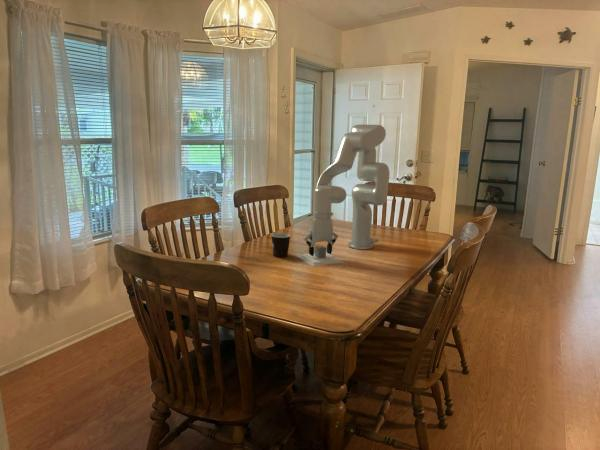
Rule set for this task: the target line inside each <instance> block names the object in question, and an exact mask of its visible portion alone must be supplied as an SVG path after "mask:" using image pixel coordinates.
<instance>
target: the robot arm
mask: <svg viewBox="0 0 600 450" xmlns="http://www.w3.org/2000/svg"><path fill="white" fill-rule="evenodd" d="M386 132H387V131H386V129H385V127H384V125H381V124H364V123H363V124H355V125H353V126H352V127H351V128H350V132H347V133H345V134H344V135H343V136H342V137H341V140H340V144H339V146H338V149H337V152H336V155H335V158H334V161H333V162H332V163H331V164H330V165H329V166H328V167H326V169H324V170H323V172H322V173H321V174H320V176H319V178H318V181H317V183H316V186H315V189H314V190H313V212H312V213H313V215H312V218H311V219H310V222H309V229H308V233H307V234H306V235H305V236H303V241H304V242H305V244H306V245H307V246H308V254H310V255H311V256H314V253H315V244H316V243H319V242H327V244H326V252H327V253H329V254H331V255H332V251H333V246H334V244H335V243H336V242H337V240H338V238H339V235H338V234H337V233H335V232H334V230H333V229H334V227H333V226H334V225H333V221H332V216H334V213H333V212H331V209H332V204H341V203H344V201H345V200H346V198H347V192H346V190H345V188H344V187H342V186H337V185H331V184H330V183H331V181H332V180H333V179H334V178H336V177H337V176H338V175H341V174H344V173H346V172H348V171H350V170H352V168H353V166H354V162H355V158H356V156H357V153H358V156H357V157H358V159H357V168H356V177H357V179H359V180H360V181H364V182H368V183H357V184H355V185H354V186H353V187H352V189H351V199H352V223H351V241H350V242H348V243H347V246H348V247H349V248H350V249H355V250H371V249H372V248H374V243H379V240H380V239H379V238H374V237H372V223H373V222H372V221H373V220H372V219H373V210H372V207H371V206H372V205H373V206H383V205H384V204H385V203H386V201H387V198H388V192H389V183H390V169H389V166H388V164H387V163H384V162H377V149H376V147H378V146H379V145H381V144H382V143H383V142H384V140H385V139H386V135H387V133H386ZM369 182H370V183H371V182H372V183H375V184H369ZM370 205H371V206H370Z"/></svg>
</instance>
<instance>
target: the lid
mask: <svg viewBox="0 0 600 450" xmlns="http://www.w3.org/2000/svg"><path fill="white" fill-rule="evenodd" d="M300 256H301V257H303V258H304V259H306V260H307V261H309V262H310V263H312V264H313V265H315V264H324V263H333V262H340V260H341V259H340V258H338V257H336V256H335V255H333V254H332V253H331V254H329V253H327V247H326V246H324V245H315V246H314V256H311V255H310V254H309V253H303V254H300Z"/></svg>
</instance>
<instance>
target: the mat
mask: <svg viewBox="0 0 600 450" xmlns="http://www.w3.org/2000/svg"><path fill="white" fill-rule="evenodd" d="M297 258H299V259H300V260H302V261H303V262H305V263H306V264H308V265H309V266H311V267H315V266H316V267H317V266H325V265H326V266H327V265H333V264H334V265H335V264H343V263H344V264H345V261H343V260H341V259H340V262H333V263H324V264H315V265H313V264H312V263H310V262H309V261H307V260H306V259H304V258H303V257H301V255H297Z"/></svg>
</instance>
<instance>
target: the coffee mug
mask: <svg viewBox="0 0 600 450" xmlns="http://www.w3.org/2000/svg"><path fill="white" fill-rule="evenodd" d="M270 238H271V245H272V247H271V248H272V256H273V257H274V258H277V259H279V258H280V259H281V258H287V257H288V255H289V247H290V243H291V242H290V241H291V235H290V234H288V233H283V232H277V233H272V234H271V237H270Z"/></svg>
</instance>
